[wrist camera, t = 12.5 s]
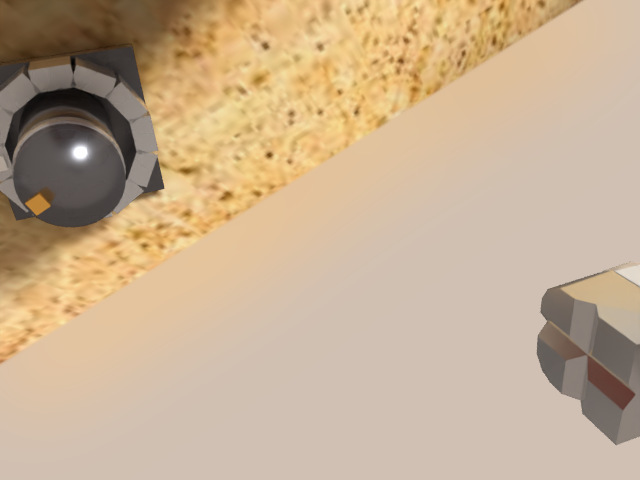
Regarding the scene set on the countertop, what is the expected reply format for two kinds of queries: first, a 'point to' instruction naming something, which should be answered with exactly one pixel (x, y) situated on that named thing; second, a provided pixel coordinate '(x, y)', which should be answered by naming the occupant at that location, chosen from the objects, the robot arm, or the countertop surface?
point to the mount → (102, 84)
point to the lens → (67, 159)
